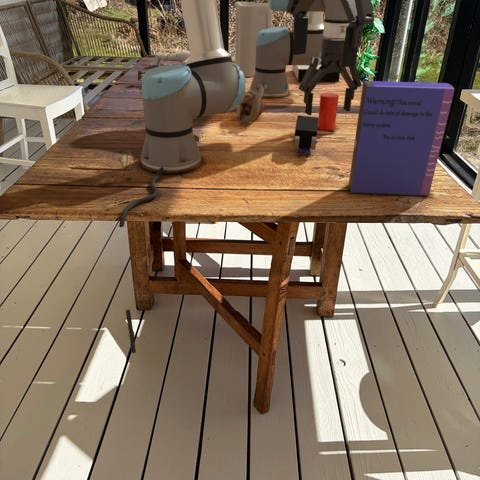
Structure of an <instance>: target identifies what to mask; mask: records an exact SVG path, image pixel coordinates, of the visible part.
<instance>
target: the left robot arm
mask: <svg viewBox="0 0 480 480" xmlns="http://www.w3.org/2000/svg"><path fill="white" fill-rule="evenodd" d="M179 1H180V6H181V12H182V18H183V22H184V28H185V33H186V39H187V44H188V49H189V50H188V51H189V52H190V58H189V59H188V61H187V63H186V65H182V63H180V64H179V63H174V64H163V65H164V66H155V67H153V68H151V69H148V70H147V72H146V73H145V74H142V76H141V77H142V78H141V98H142V106H143V115H144V125H145V126H144V127H145V138H144V142H143V146H142V150H141V154H140V162H141V166H142V168H144V169H145V170H146V171H149V172H151V173H156V174H155V175H154V176H153V178H152V179H151V181H150V188H151V190H152V191H153V193H152V194H150V195H147V196H144V197H141V198H138V199H135V200H133V201H132V202H130V203H129V204H128V205H126V206H125V207H124V208H123V210H122V211H121V215H120V218H119V224H118V228H123V227H125V222H126V219H127V216H128V215H127V214H128V212H129V211H130V210H132V209H133V208H134V207H135V206H137V205H140V204H141V203H145V202H149V201H152V200H153V199H155V198H157V196H159V190H158V188H157V187H156V186H155V184H156V182H157V181H158V179H159V178H160V176H161V175H162V174H163V175H164V174H165V175H169V174H170V175H172V174H173V175H175V174H182V173H187V172H190V171H193V170H195V169H197V168H198V167H199V166H201V163H202V155H201V151H200V149H199V146H198V143H199V144H200V136H198V135H196V134H194V130H193V129H194V126H193V120H196V119H199V118H205V117H210V116H216V115H223V114H226V113H228V112H232V111H236V108H237V107H238V106H239V105H240V104H241V102H242V100H243V98H244V94H245V92H246V77H244V74H243V72H242V71H241V68H240V67H239V66H238V65H235V63H233V57H232V54H230V53H229V52H228V51H227V50H225V46H224V39H223V35H222V28H221V22H220V17H219V16H220V15H219V10H218V5H217V0H179ZM314 1H315V0H290V1H289V3H288V6H287V11H286V13H287V14H291V16H292V18H293V25H292V26H293V28H292V32H293V35H294V45H293V54H294V55H299V54H306V43H307V31H308V18H304V17H308V16H306V15H307V12H308V11H309V9H310V8H311V6H312V5H313V3H314ZM341 3H342V5H343V8H344V10H345V13H346V15H347V18H348V20H349V23H350V24H349V25H348V27H346V34H345V42H344V51H343V59H342V67H345V68H349V66H355V65H356V66H357V56H358V48H359V47H361V45H362V38H363V30H364V27H365V26H367V25H370V24H374V22H375V16H374V11H373V10H374V9H373V6H372V0H341ZM294 5H295V6H294ZM131 313H132V312H131V309H130V308H129V309H125V316H126V323H127V329H128V335H129V342H130V351H131V353H132V354H136V352H137V350H136V342H135V341H136V340H135V334H134V328H133V320H132V314H131Z"/></svg>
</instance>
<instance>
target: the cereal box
mask: <svg viewBox="0 0 480 480" xmlns="http://www.w3.org/2000/svg"><path fill="white" fill-rule="evenodd" d="M361 87H362V88H361V96H360V100H359V101H360V102H359V108H358V115H357V123H356V130H355V137H354V144H353V151H352V158H351V164H350V172H349V177H348V178H349V179H348V187H349V190H350V193H351V194H373V195H395V196H397V195H398V196H420V197H421V196H423V197H430V193H431V190H432V189H431V188H432V185H433V180H434V176H435V172H436V168H437V164H438V160H439V156H440V152H441V147H442V143H443V139H444V135H445V132H446V126H447V123H448V119H449V118H448V117H449V115H450V110H451V106H452V103H453V97H454V93H455V88H454V86H453V85H452V84H450V83H448V82H419V81H417V82H415V81H386V80H385V81H381V80H363V82H362V86H361Z"/></svg>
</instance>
